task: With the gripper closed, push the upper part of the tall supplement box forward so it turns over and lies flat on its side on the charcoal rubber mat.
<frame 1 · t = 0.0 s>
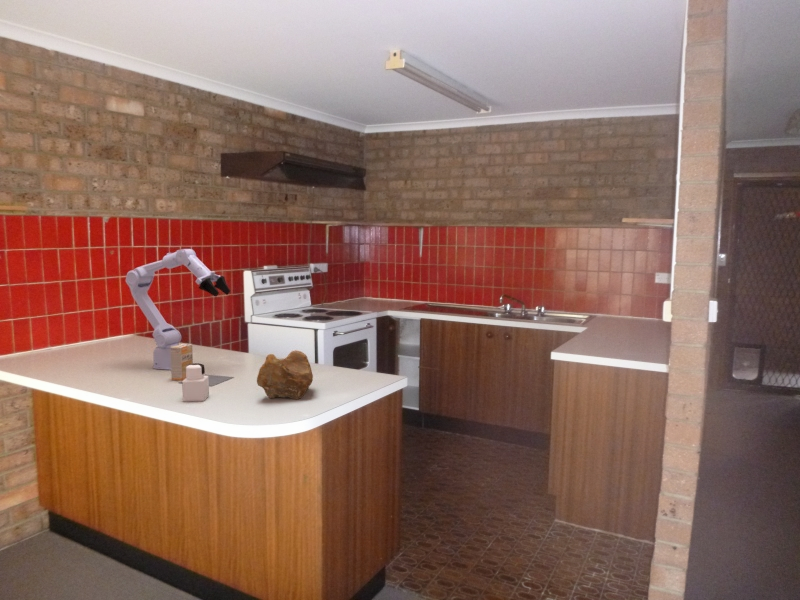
hand: (223, 293, 234), 32 cm above the counter, fingers open, 7 cm apart
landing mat: (206, 380, 225), on the counter
rough brown rock: (291, 395, 205), on the counter
supplement box: (182, 378, 229), on the counter
medicine bottle: (196, 399, 201), on the counter
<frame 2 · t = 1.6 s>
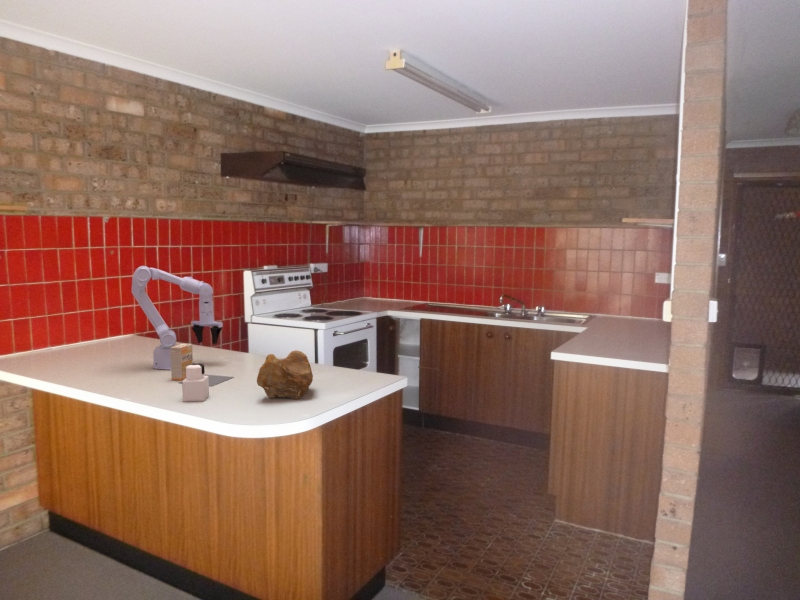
hand: (207, 343, 251), 9 cm above the counter, fingers open, 7 cm apart
nothing on the counter moved.
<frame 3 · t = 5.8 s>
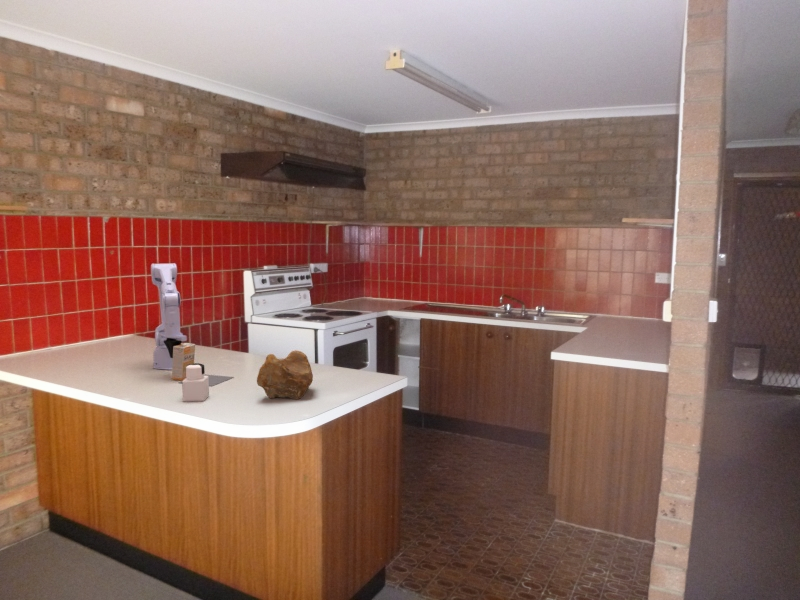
hand: (173, 357, 229), 8 cm above the counter, fingers closed
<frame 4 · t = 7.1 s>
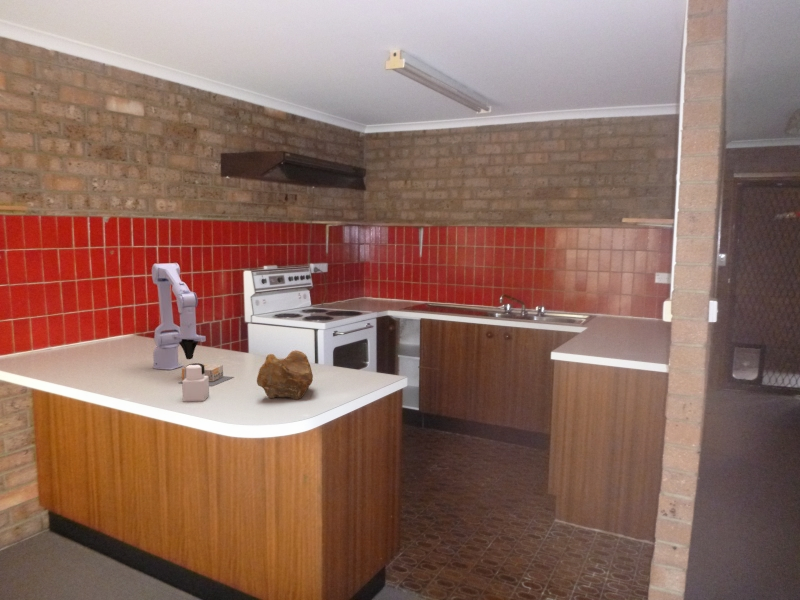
hand: (189, 358, 227), 8 cm above the counter, fingers closed
supplement box: (187, 371, 228), point 3 cm above the counter, touching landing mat
everything else where it was.
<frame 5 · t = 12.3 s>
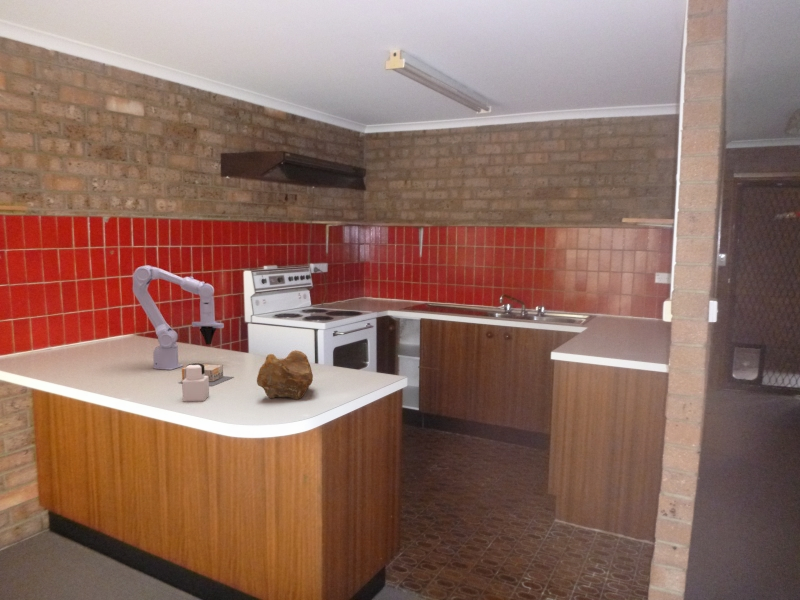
hand: (208, 344, 249), 9 cm above the counter, fingers closed
nothing on the counter moved.
at the end: supplement box tilted 90°; supplement box inside the target area (9.0 cm from its centre), point 2.6 cm above the counter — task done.
